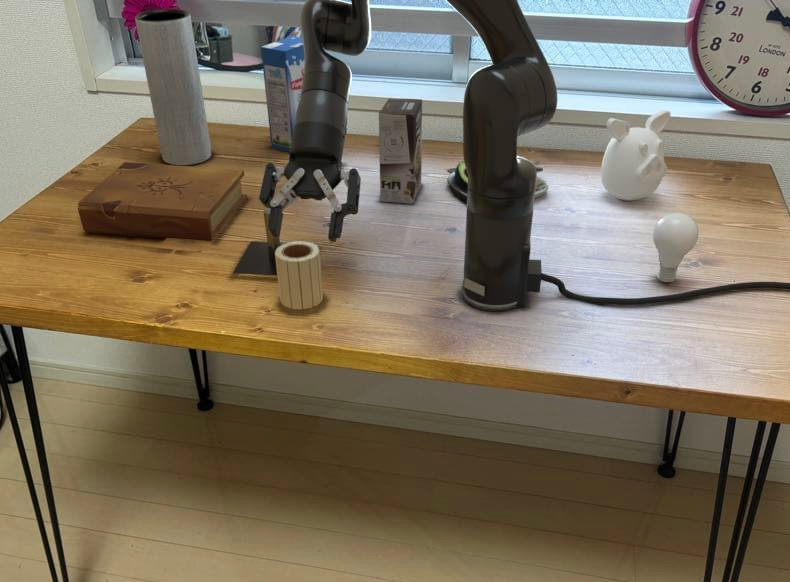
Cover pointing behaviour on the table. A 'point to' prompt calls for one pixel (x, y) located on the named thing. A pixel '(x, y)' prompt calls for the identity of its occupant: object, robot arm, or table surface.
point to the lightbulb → (673, 242)
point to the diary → (163, 201)
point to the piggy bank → (634, 158)
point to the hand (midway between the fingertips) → (303, 237)
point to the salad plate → (460, 182)
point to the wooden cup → (299, 275)
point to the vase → (174, 85)
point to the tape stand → (260, 254)
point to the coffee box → (400, 150)
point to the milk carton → (283, 87)
